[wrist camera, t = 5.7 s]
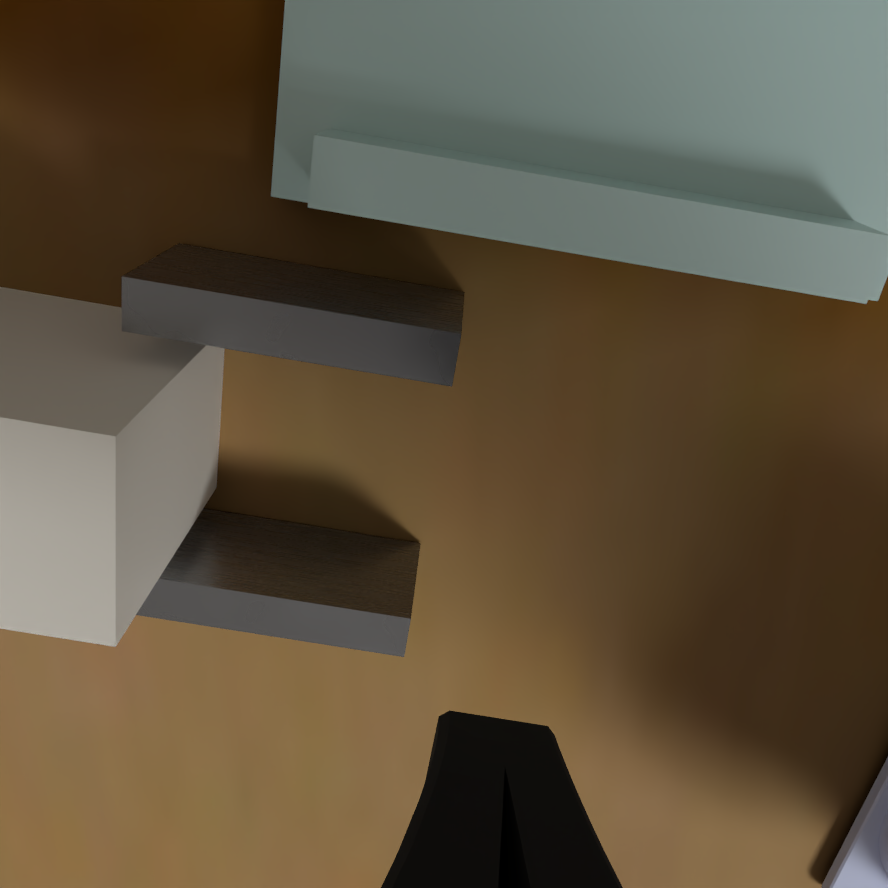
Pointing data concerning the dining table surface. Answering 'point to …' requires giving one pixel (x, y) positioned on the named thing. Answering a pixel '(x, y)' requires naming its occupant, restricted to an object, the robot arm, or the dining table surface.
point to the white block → (96, 462)
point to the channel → (309, 340)
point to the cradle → (603, 129)
